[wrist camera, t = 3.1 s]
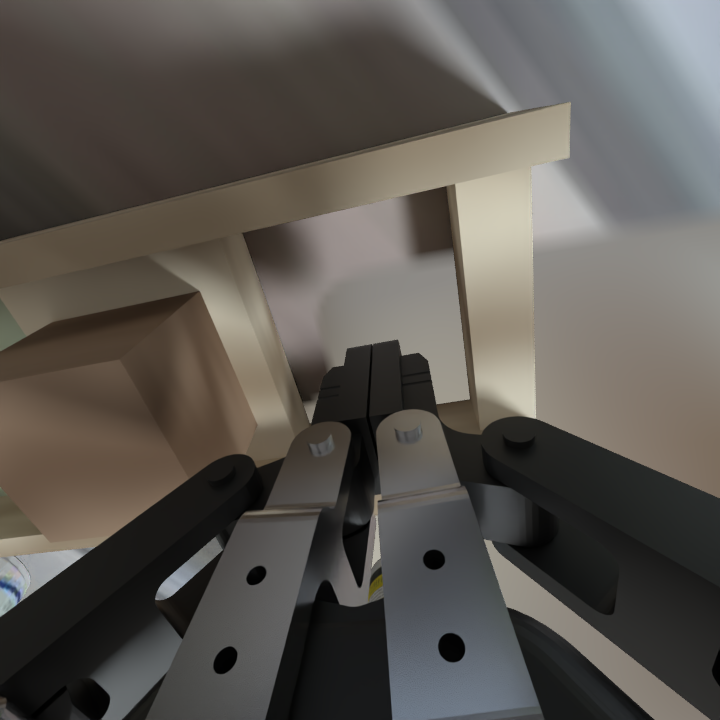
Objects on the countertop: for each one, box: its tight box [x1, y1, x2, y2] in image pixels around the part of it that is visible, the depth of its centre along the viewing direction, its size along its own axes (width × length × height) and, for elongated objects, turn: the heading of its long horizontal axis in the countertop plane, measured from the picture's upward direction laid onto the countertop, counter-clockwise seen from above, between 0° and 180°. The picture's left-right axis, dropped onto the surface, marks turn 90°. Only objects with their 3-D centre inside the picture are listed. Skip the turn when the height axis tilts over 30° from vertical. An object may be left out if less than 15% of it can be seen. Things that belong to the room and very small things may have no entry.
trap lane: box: [0, 102, 571, 557], centre depth 15 cm, size 11×34×4 cm, turn 103°
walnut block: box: [0, 291, 258, 543], centre depth 13 cm, size 6×6×4 cm
